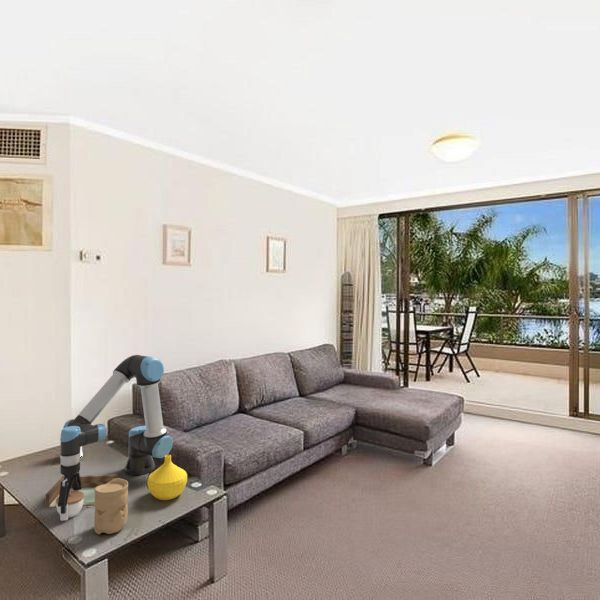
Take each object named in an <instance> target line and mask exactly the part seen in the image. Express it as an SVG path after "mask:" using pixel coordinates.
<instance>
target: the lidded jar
mask: <svg viewBox="0 0 600 600" xmlns="http://www.w3.org/2000/svg"><path fill="white" fill-rule="evenodd" d="M58 500H59V496H58V497H57V499H56V507H55V508H56V510H57V513H58V514H59V515H60V507H58ZM83 501H84V493H83V492H80V491H71V492H69V497H68V501H67V504H68V519H70V518H73V517H75V516H77V515H78V514H79V512H80V511H81V510H82V509H83V507H84V506H83Z"/></svg>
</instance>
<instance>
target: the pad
mask: <svg viewBox="0 0 600 600" xmlns="http://www.w3.org/2000/svg"><path fill="white" fill-rule="evenodd" d="M80 492H83V493H84V501H83V503H95V488H84V489H81V490H80Z"/></svg>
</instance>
